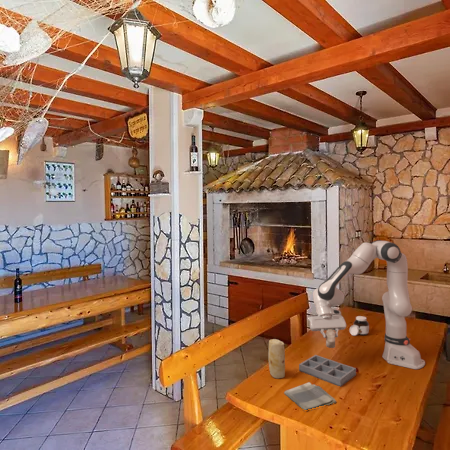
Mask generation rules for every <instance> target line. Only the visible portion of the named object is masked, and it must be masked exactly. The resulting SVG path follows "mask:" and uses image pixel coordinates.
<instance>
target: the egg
mask: <svg viewBox="0 0 450 450" xmlns="http://www.w3.org/2000/svg"><path fill="white" fill-rule="evenodd" d="M335 333H336V332H335V330H332V329H328V330H326V332H325V334H327V338H325V339H326V340H325V346H326V348H329V349H334V348H336V337H335Z"/></svg>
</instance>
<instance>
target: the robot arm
mask: <svg viewBox="0 0 450 450" xmlns="http://www.w3.org/2000/svg"><path fill="white" fill-rule="evenodd" d="M375 259H379V260H382V261H385V262H386V265H387V266H386V286H387V289H388V290H387V291H385V292H384V293H383V294H382V296H381V300H382V304H383V310H384V311H383V312H384V319H385V333H384V343H385V344H384V350H383V353H382V358H383V359H384V360H385V361H386V363H388V364H391V365H395V366H399V367H404V368H408V369H413V370H419V369H422V368H424V366H425V365H426V360H424V359H422V357H421V353H420V351H419V350H417V348H416V347H414V346H413V345H412V344H411V343H410V341H411V337H410V338H409V337H408V336H407V321H406V317H408V316H410V314H411V313H412V311H413V306H412V304H411V301H410V293H409V285H408V279H409V278H408V277H409V276H408V275H409V274H408V273H409V268H408V267H409V266H408V259H407V256H406V254H404V253H403V252H401V249H400V247H399V246H398V245H397V244H396V243H394V242H392V241H389V240H381V239H376V240H373V241H372V242H363V243H361V244H360V245H358V247H357V248H356V249H355V250H354V251H353V253H352V254H351V256H350V257H348V259H347V260H345V261H343V262H342V263H341V264H339V266H338V267H337V268H336V269H335V270H334V271H333V272H332V273H331V275H330V276H329V277H328V278H327V279H326V280H324V281H323V282H321V283H320V285H319V286H318V287H317V288H315V289H314V290H313V291H312V300H313V305H314V306H315V311H316V314H310V315H308V316H307V319H308V320H307V321H308V322H309V329H310V331H312V332H320V334H322V336H323V338H324V339H326V338H327V334H326V332H324V331H327V330H328V329H332V330H334V332H335V338H338V337H339V335H338V333H339V331H341V330H342V331H343V330H345V329H346V327H347V323H346V320H345V317H344V316H343V315H342V311H341V310H338V309H335V308H334V307H337V306H340V305H342V304H343V303H344V302H345V297H346V296H345V293H344V292H343V291H342V290H340V289H339V288H338V287H337V286H338V285H339V284H340V283H341V281H343V279H344V278H345V277H346V276H349V275H361V274H363V273H364V272H365V271H366V270H367V269H368V268H369V266H370V265H371V263H372V262H373V261H374V260H375ZM332 307H333V308H334V309H333V308H332Z"/></svg>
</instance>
